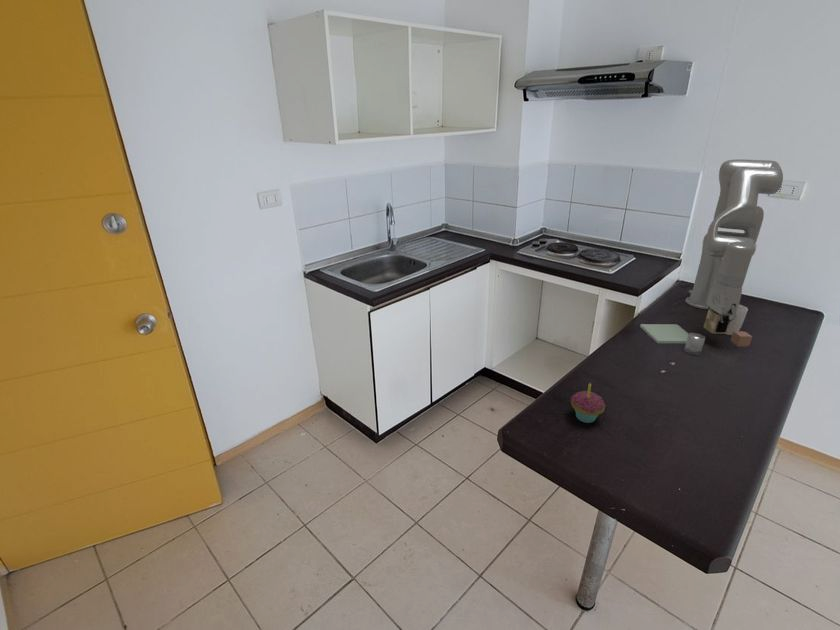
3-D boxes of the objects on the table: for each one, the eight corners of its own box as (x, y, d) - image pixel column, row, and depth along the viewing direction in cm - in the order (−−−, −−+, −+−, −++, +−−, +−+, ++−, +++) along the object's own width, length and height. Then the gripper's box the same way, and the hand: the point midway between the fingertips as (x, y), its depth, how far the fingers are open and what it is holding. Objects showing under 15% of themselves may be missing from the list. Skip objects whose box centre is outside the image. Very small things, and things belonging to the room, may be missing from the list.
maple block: (703, 327, 157) (708, 309, 154) (717, 326, 157) (723, 309, 154) (711, 333, 153) (717, 315, 150) (726, 333, 153) (732, 315, 150)
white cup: (717, 334, 163) (724, 309, 159) (713, 325, 170) (720, 301, 166) (742, 337, 161) (750, 312, 157) (737, 329, 167) (745, 304, 163)
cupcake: (598, 431, 112) (606, 391, 107) (564, 420, 116) (570, 381, 111) (605, 414, 119) (613, 375, 114) (573, 404, 123) (579, 366, 118)
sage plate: (639, 326, 169) (640, 324, 169) (676, 326, 169) (677, 324, 169) (657, 343, 156) (658, 340, 156) (697, 343, 156) (697, 341, 156)
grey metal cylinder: (681, 348, 153) (685, 332, 151) (695, 348, 153) (700, 332, 151) (689, 355, 149) (693, 339, 146) (703, 355, 149) (708, 339, 146)
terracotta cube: (730, 341, 158) (733, 331, 156) (741, 341, 158) (744, 331, 156) (737, 346, 154) (740, 336, 153) (749, 346, 154) (752, 336, 153)
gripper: (704, 271, 155) (691, 318, 162) (735, 289, 139) (719, 340, 147) (725, 271, 154) (711, 317, 162) (759, 289, 139) (742, 339, 147)
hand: (715, 327), depth 154 cm, fingers closed on maple block, 4 cm apart
